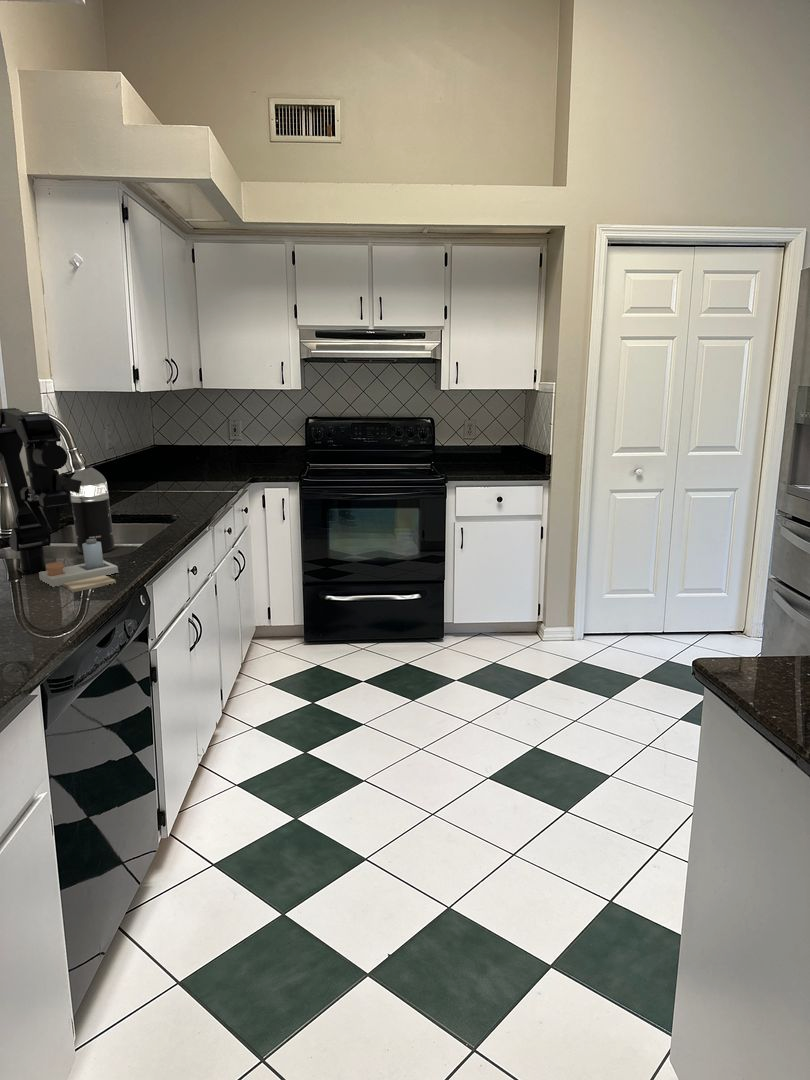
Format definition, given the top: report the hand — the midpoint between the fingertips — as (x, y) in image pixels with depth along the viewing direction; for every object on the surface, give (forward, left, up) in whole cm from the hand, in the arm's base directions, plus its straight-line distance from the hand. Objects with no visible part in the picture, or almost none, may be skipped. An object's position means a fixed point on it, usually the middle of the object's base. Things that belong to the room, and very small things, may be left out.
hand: (50, 530), depth 184 cm
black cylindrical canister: (-26, +19, -13) cm, 35 cm away
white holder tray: (0, +5, -13) cm, 14 cm away
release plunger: (0, 0, -11) cm, 11 cm away
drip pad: (+10, +4, -13) cm, 17 cm away
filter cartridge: (0, +9, -13) cm, 16 cm away
